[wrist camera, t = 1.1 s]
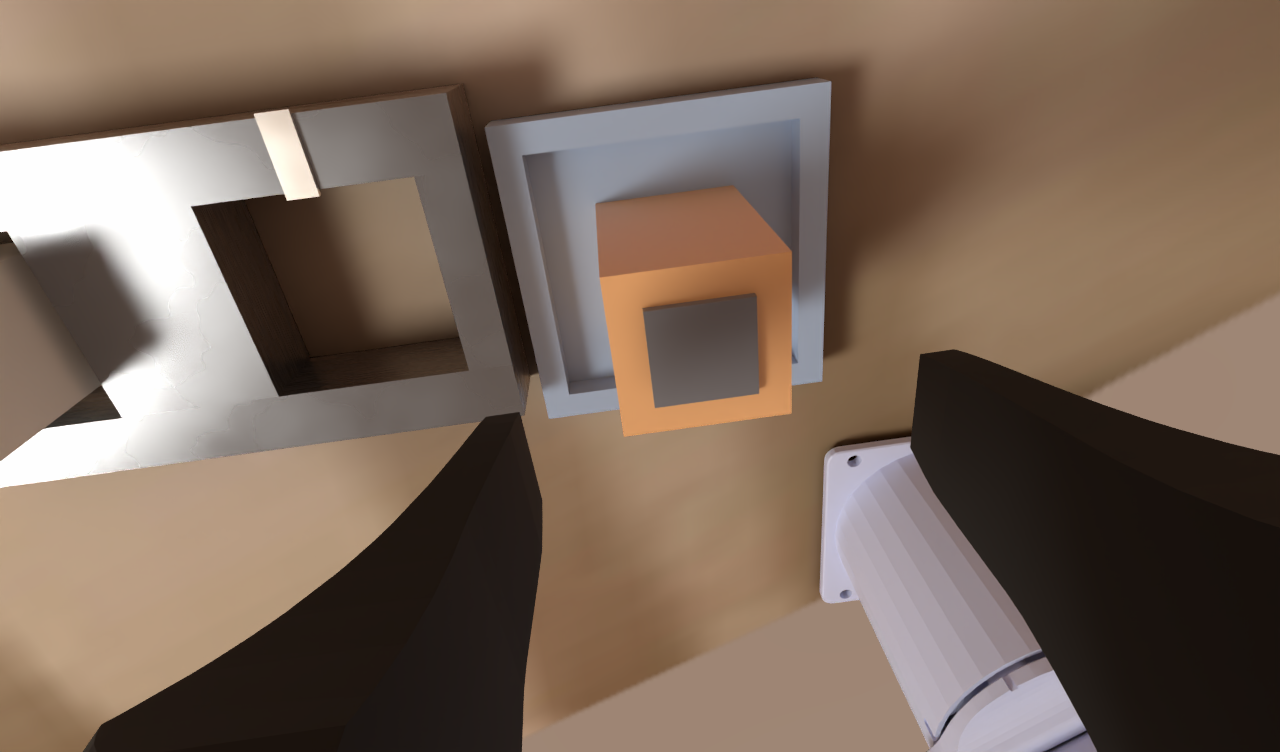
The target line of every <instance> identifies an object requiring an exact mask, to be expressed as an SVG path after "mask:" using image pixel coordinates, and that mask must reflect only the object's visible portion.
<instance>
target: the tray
mask: <svg viewBox="0 0 1280 752" xmlns="http://www.w3.org/2000/svg"><path fill="white" fill-rule="evenodd" d="M830 110H831V81H828V80H825V79H821V78H817V77H816V78H809V79H801V80H794V81H786V82H779V83H771V84H764V85H756V86H749V87H741V88H734V89H726V90H719V91H711V92H704V93H696V94H689V95H681V96H674V97H666V98H659V99H651V100H644V101H636V102H629V103H621V104H614V105H606V106H599V107H591V108H584V109H576V110H569V111H561V112H554V113H546V114H539V115H531V116H524V117H516V118H509V119H501V120H494V121H490V122H489V123H488V124H487V125H486V126H485V132H486V137H487V141H488V146H489V150H490V155H491V159H492V164H493V168H494V173H495V177H496V182H497V186H498V191H499V195H500V200H501V204H502V209H503V213H504V218H505V222H506V227H507V231H508V236H509V240H510V245H511V250H512V254H513V259H514V263H515V268H516V272H517V277H518V281H519V286H520V290H521V295H522V299H523V304H524V308H525V313H526V317H527V322H528V326H529V331H530V335H531V340H532V344H533V349H534V353H535V358H536V362H537V367H538V371H539V376H540V380H541V385H542V389H543V394H544V398H545V403H546V408H547V412H548V417H549V419H552V418H559V417H566V416H573V415H581V414H588V413H595V412H602V411H610V410H617V409H620V408H619V401H618V395H617V388H616V382H615V375H614V369H613V362H612V356H611V349H610V343H609V336H608V330H607V324H606V317H605V311H604V304H603V298H602V291H601V285H600V278H599V262H598V244H597V227H596V209H595V204H596V203H604V202H611V201H619V200H626V199H634V198H641V197H648V196H656V195H663V194H671V193H678V192H686V191H693V190H700V189H708V188H715V187H723V186H730V185H734V187H735V188H736V189H737V190H738V191H739V192H740V193H741V194H742V196H743V197H744V198H745V199H746V200H747V201H748V202H749V204H750V205H751V206H752V207H753V208H754V209H755V210H756V211H757V213H758V214H759V215H760V216H761V217H762V218H763V219H764V220H765V222H766V223H767V224H768V225H769V226H770V227H771V228H772V229H773V231H774V232H775V233H776V234H777V235H778V236H779V237H780V239H781V240H782V241H783V242H784V243H785V244H786V245H787V246H788V248H789V249H790V250H791V251H792V385H798V384H806V383H813V382H820V381H822V370H823V337H824V305H825V272H826V240H827V207H828V175H829V142H830Z"/></svg>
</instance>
